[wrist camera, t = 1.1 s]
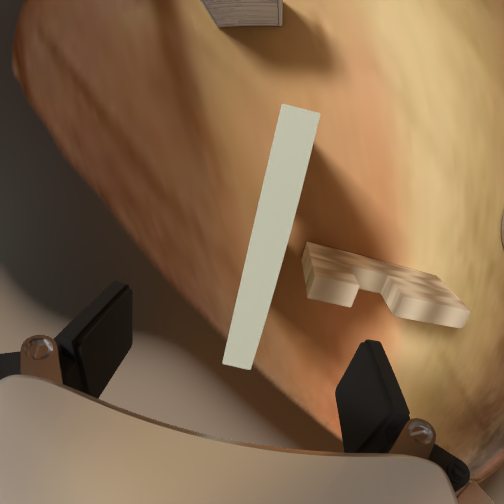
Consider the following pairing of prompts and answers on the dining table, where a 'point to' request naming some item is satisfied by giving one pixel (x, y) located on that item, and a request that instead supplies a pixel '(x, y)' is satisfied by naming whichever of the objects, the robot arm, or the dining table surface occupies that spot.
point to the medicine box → (245, 12)
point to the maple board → (380, 285)
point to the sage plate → (271, 231)
